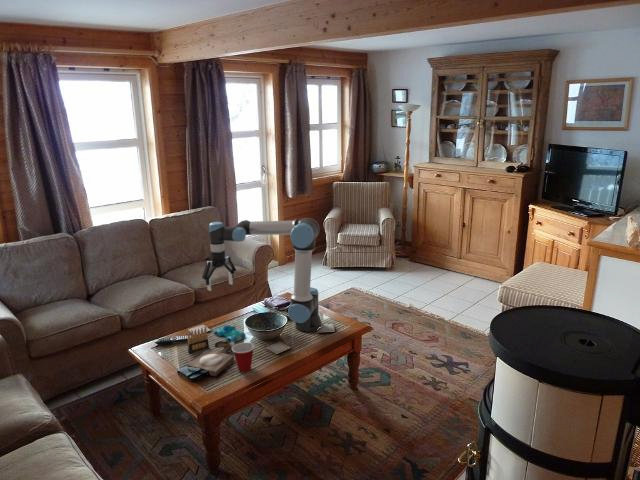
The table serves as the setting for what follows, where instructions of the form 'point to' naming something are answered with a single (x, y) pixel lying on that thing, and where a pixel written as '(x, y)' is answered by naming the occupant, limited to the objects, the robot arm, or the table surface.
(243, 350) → the plastic cup
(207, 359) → the plinth
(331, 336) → the table surface
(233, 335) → the toy car
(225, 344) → the eagle figurine
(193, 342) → the ammunition clip
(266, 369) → the table surface
